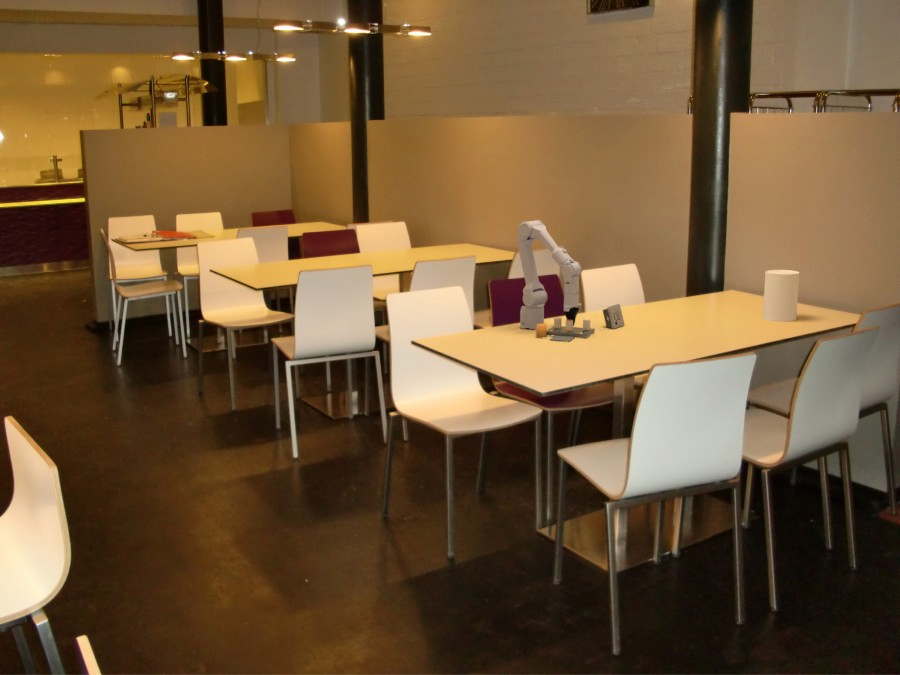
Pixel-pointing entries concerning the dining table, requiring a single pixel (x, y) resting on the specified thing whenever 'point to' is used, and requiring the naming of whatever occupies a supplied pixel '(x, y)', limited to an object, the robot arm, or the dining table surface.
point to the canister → (780, 295)
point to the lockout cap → (541, 330)
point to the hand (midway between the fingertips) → (571, 326)
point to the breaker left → (557, 322)
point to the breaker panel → (570, 332)
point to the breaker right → (586, 324)
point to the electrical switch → (613, 316)
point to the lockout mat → (562, 338)
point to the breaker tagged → (569, 325)
